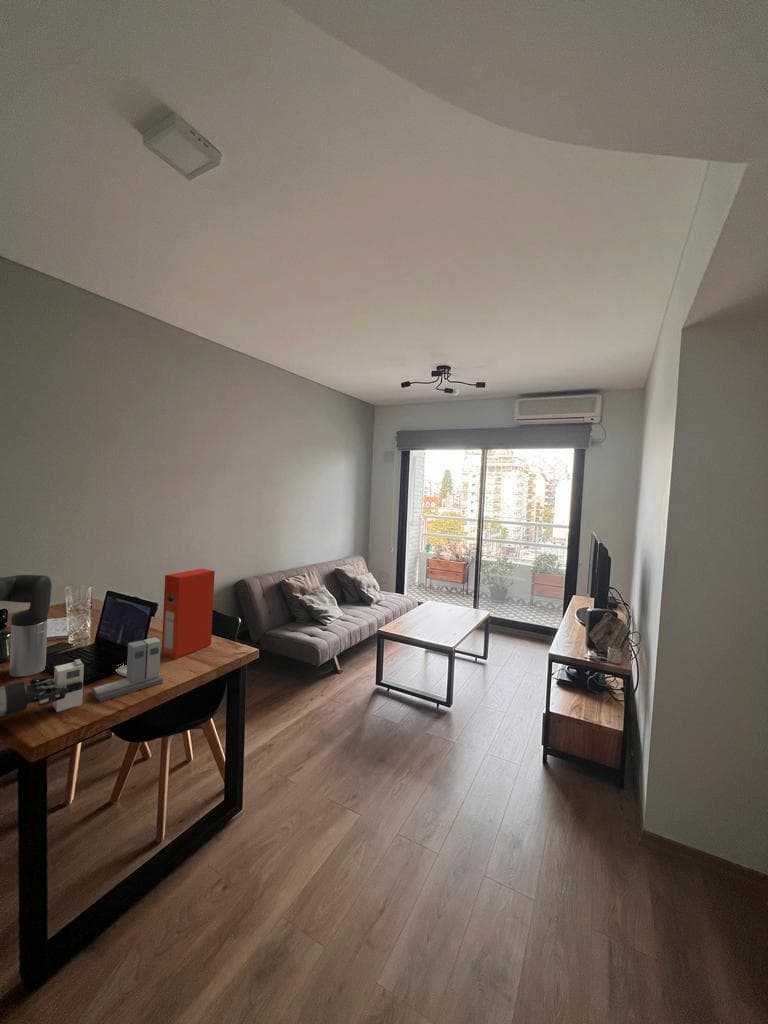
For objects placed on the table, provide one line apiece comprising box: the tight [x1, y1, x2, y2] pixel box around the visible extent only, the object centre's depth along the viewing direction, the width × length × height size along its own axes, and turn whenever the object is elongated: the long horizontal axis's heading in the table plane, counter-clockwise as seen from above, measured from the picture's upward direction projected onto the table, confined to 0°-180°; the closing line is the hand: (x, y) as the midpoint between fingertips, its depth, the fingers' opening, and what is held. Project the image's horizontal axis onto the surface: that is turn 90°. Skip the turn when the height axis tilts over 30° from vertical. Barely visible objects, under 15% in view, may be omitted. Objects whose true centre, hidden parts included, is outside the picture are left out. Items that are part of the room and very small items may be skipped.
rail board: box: [91, 637, 164, 703], centre depth 130 cm, size 8×18×14 cm, turn 141°
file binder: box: [161, 568, 215, 660], centre depth 162 cm, size 8×17×32 cm, turn 157°
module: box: [52, 658, 85, 713], centre depth 118 cm, size 5×6×13 cm
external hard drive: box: [115, 663, 127, 678], centre depth 142 cm, size 2×8×12 cm
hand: (78, 681), depth 120 cm, fingers open, 5 cm apart
